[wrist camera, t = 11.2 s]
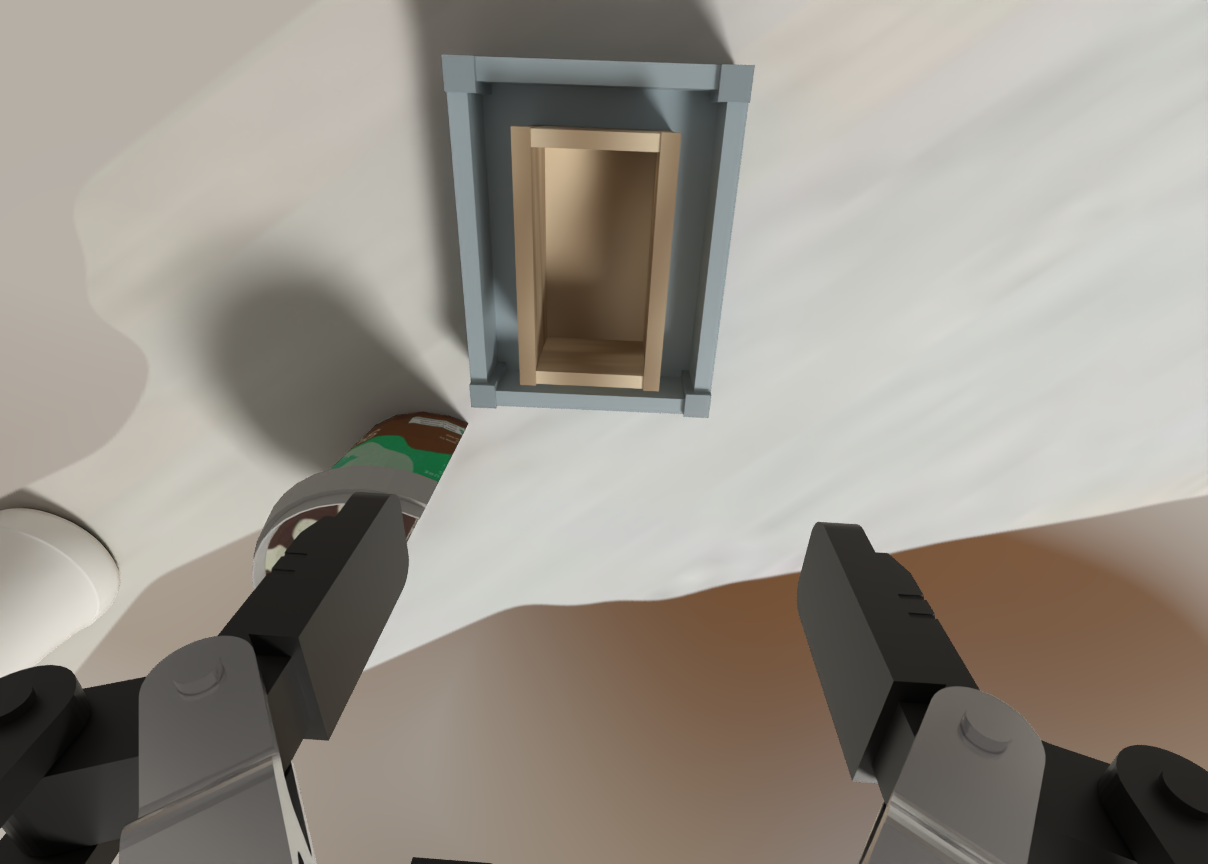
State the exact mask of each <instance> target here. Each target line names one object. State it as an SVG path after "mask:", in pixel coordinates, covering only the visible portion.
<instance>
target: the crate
mask: <svg viewBox="0 0 1208 864" xmlns="http://www.w3.org/2000/svg"><path fill="white" fill-rule="evenodd" d="M441 58H442V70H443V81H444V92H447V103H448V115H449V127H450V139H451V151H452V163H453V175H454V187H455V199H456V211H457V223H458V234H459V246H460V258H461V270H462V282H463V294H464V306H465V318H466V330H467V342H468V354H469V366H470V377H471V383H470V385H469V386H470V397H471V407H477V408H496V407H497V406H516V407H538V408H560V409H583V410H605V411H627V412H649V413H671V414H683V415H684V417H699V418H708V417H709V410H710V402H711V386H712V378H713V371H714V363H715V355H716V348H717V340H718V332H719V325H720V317H721V309H722V302H723V294H724V286H725V279H726V271H727V263H728V256H729V248H730V240H731V233H732V225H733V217H734V210H735V202H736V194H737V187H738V179H739V171H740V164H741V156H742V148H743V141H744V133H745V125H746V118H747V110H748V103H750V98H751V90H752V82H753V75H754V67H755V65H732V64H721V65H715V64H686V63H657V62H628V61H599V60H570V59H541V58H512V57H483V56H471V55H442V54H441ZM528 125H549V126H574V127H598V128H623V129H648V130H671V131H673V132H680V133H681V144H680V155H679V167H678V178H677V190H676V201H675V212H674V224H673V235H672V247H671V258H670V270H669V281H668V292H667V304H666V315H665V327H664V338H663V350H662V361H661V372H660V384H659V391H643V389H637V388H616V387H595V386H574V385H553V384H536V386H532V385H520V370H519V343H518V316H517V288H516V261H515V234H514V207H513V179H512V152H511V126H528Z"/></svg>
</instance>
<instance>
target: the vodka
mask: <svg viewBox="0 0 1208 864" xmlns="http://www.w3.org/2000/svg"><path fill="white" fill-rule="evenodd" d="M119 587H120V575H119V571H118V568H117V566H116V564H115V562H114V560H113V558H112V557H111V555H110V554H109V553H108V551H107V550H106V549H105V547H104V546H103V545H102V544H101V543H100V542H99V541H98V540H97V539H96V538H95V537H94V536H92V535H91V534H90V533H89V532H87V531H86V530H84V529H83V528H81V527H79V526H78V525H76V524H74V523H72V522H70V521H68V520H66V519H63V518H61V517H59V516H56V515H53V514H50V513H47V512H44V511H40V510H35V509H27V508H11V509H5V510H0V678H1V677H4V676H6V675H8V674H11V673H14V672H17V671H20V670H23V669H27V668H31V667H34V666H35V665H36V664H37V663H38V662H40V661H41V660H42V659H43V658H44V657H45V656H47V655H48V654H49V653H50V652H52V651H53V650H54V649H55V648H57V647H58V646H59V645H61V644H62V643H63V642H64V641H66V640H67V639H68V638H70V637H71V636H72V635H73V634H75V633H76V632H78V631H80V630H82V629H85V628H86V627H88V626H89V625H91V624H92V623H93V622H94V621H95V620H97V619H98V618H99V617H100V616H101V615H102V614H103V613H104V612H106V611H107V610H108V609H109V608H110V607H111V606H112V604H113V603H114V601H115V599H116V596H117V594H118V591H119Z"/></svg>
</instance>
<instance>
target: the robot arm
mask: <svg viewBox="0 0 1208 864" xmlns="http://www.w3.org/2000/svg"><path fill="white" fill-rule="evenodd" d="M408 566H409V556H408V549H407V542H406V536H405V529H404V523H403V516H402V510H401V504H400V500H399V498H398V496H397V495H396V494H385V493H369V492H355V493H354V494H352V496H351V497H350V498H349V499H348V501H347V502H346V503H345V505H344V506H343V507H342V509H341V510H340V511H339V513H338V514H337V515H336V517H333V516H324V517H323V518H321V519H320V520H318V521H317V522H315V523H314V524H312V525H311V526H309V527H308V528H306V529H305V530H303V531H302V532H300V534H299V535H298V536H297V537H296V539H295V540H294V541H293V542H292V544H291V545H290V546H289V547H288V549H287V550H286V551H285V555H284V556H281V557H280V559H279V560H278V561H277V562H276V564H275V565H274V566H273V567H272V569H271V573H268V574H267V575H266V576H265V577H264V579H263V580H262V581H261V582H260V584H259V585H258V586H257V587H256V589H255V590H254V591H253V592H252V594H251V595H250V596H249V597H248V599H247V600H246V601H245V602H244V604H243V605H242V606H241V607H240V609H239V610H238V611H237V612H236V613H235V615H234V616H233V617H232V618H231V620H230V621H229V622H228V623H227V625H226V626H225V627H224V629H223V630H222V631H221V633H219V635H218V636H214V637H209V638H205V639H202V640H198V641H195V642H193V643H190V644H188V645H186V646H184V647H182V648H180V649H178V650H176V651H175V652H173V653H172V654H170V655H168V656H167V657H166V658H165V659H163V660H162V661H161V662H159V664H157V665H156V666H155V668H153V669H152V670H151V672H150V673H149V674H148V675H147V677H142V678H137V679H133V680H127V681H121V682H116V683H111V684H106V685H101V686H95V687H90V688H85V689H82V687H81V685H80V683H79V682H78V680H77V678H76V676H75V675H74V674H73V672H72V671H71V670H69V669H67V668H65V667H62V666H55V665H45V666H37V667H31V668H27V669H23V670H20V671H17V672H14V673H11V674H8V675H6V676H4V677H1V678H0V828H1V827H2V828H3V829H4V831H5V832H6V834H5V835H4V836H3V838H2V839H1V840H0V864H111V863H112V862H113V860H114V858H115V857H116V855H117V854H118V852H119V864H317V862H316V857H315V853H314V849H313V844H312V840H311V836H310V832H309V827H308V823H307V819H306V814H305V810H304V806H303V801H302V797H301V793H300V788H299V784H298V780H297V775H296V771H295V767H294V764H293V761H292V759H293V757H294V755H295V753H296V751H297V749H298V748H299V746H300V744H301V742H302V740H303V739H315V740H329V739H330V737H331V735H332V733H333V731H334V729H335V727H336V724H337V722H338V720H339V718H340V716H341V714H342V712H343V710H344V708H345V706H346V704H347V702H348V700H349V698H350V696H351V694H352V692H353V690H354V688H355V686H356V684H357V682H358V680H359V678H360V675H361V674H362V672H363V669H364V667H365V665H366V663H367V661H368V659H369V657H370V655H371V653H372V651H373V649H374V647H375V645H376V643H377V641H378V639H379V637H380V635H381V633H382V631H383V629H384V627H385V625H386V623H387V621H388V619H389V617H390V614H391V612H392V610H393V608H394V606H395V604H396V602H397V600H398V598H399V596H400V594H401V592H402V590H403V588H404V585H405V582H406V579H407V574H408ZM797 605H798V612H799V616H800V619H801V623H802V626H803V629H804V632H805V635H806V638H807V641H808V645H809V648H810V651H811V654H812V657H813V660H814V663H815V666H816V669H817V672H818V676H819V679H820V682H821V685H822V688H823V691H824V694H825V698H826V701H827V704H828V707H829V710H830V713H831V716H832V719H833V722H834V725H835V729H836V732H837V735H838V738H839V741H840V744H841V747H842V750H843V753H844V757H845V760H846V763H847V766H848V769H849V772H850V775H851V778H852V781H856V782H869V783H878V785H879V787H880V790H881V793H882V796H883V798H884V802H883V804H882V806H881V808H880V811H879V813H878V816H877V818H876V820H875V823H874V825H873V828H872V830H871V832H870V835H869V837H868V840H867V842H866V845H865V847H864V849H863V852H862V854H861V857H860V859H859V862H858V864H1208V772H1207V771H1206V770H1205V769H1203V768H1201V767H1200V766H1198V765H1197V764H1195V763H1193V762H1191V761H1190V760H1188V759H1185V758H1183V757H1182V756H1180V755H1177V754H1175V753H1172V752H1170V751H1167V750H1164V749H1161V748H1157V747H1153V746H1147V745H1134V746H1129V747H1127V748H1124V749H1123V750H1122V751H1121V752H1119V754H1118V755H1117V756H1116V758H1115V759H1114V761H1113V762H1112V763H1111V764H1108V763H1105V762H1103V761H1100V760H1096V759H1094V758H1091V757H1088V756H1085V755H1082V754H1078V753H1076V752H1073V751H1069V750H1067V749H1064V748H1061V747H1058V746H1055V745H1052V744H1049V743H1047V742H1044V741H1042V740H1040V738H1039V736H1038V735H1037V733H1036V731H1035V730H1034V729H1033V728H1032V726H1031V725H1030V724H1029V723H1028V722H1027V721H1026V720H1025V718H1024V717H1023V716H1022V715H1020V714H1019V713H1018V712H1017V711H1016V710H1015V709H1013V708H1012V707H1010V706H1009V705H1008V704H1006V703H1005V702H1003V701H1001V700H1000V699H998V698H996V697H994V696H992V695H990V694H988V693H986V692H982V691H980V690H979V688H978V686H977V685H976V683H975V681H974V680H973V678H972V676H971V674H970V673H969V671H968V669H967V668H966V666H965V664H964V663H963V661H962V659H961V658H960V656H959V654H958V653H957V651H956V649H955V647H954V646H953V644H952V642H951V641H950V639H949V637H948V636H947V634H946V632H945V631H944V629H943V627H942V625H941V624H940V622H939V621H938V619H935V614H934V612H933V610H932V609H931V607H930V605H929V604H928V602H927V600H924V595H923V593H922V592H921V590H920V589H919V587H918V585H917V583H916V582H915V580H914V578H913V577H912V575H911V573H910V572H909V571H907V570H906V569H905V568H904V567H903V566H902V565H901V564H899V563H898V562H897V561H896V560H895V559H894V558H893V557H892V556H890V555H889V554H888V553H876V552H875V551H874V549H873V547H872V545H871V543H870V541H869V540H868V538H867V536H866V534H865V532H864V530H863V529H862V527H861V526H860V525H858V524H843V523H827V522H817V523H816V524H815V525H814V527H813V529H812V532H811V536H810V540H809V544H808V548H807V551H806V555H805V559H804V563H803V566H802V570H801V574H800V578H799V582H798V588H797ZM411 864H491V863H481V862H468V861H455V860H441V859H429V858H416V857H413V859H412V862H411Z"/></svg>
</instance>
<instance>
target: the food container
mask: <svg viewBox="0 0 1208 864" xmlns="http://www.w3.org/2000/svg"><path fill="white" fill-rule="evenodd" d="M467 425H468V423H466V422H463V421H461V420H458V419H456V418H453V417H451V416H447V415H440V414H434V413H427V412H416V413H408V414H401V415H396V416H394V417H392V418H390V419H388V420H386V421H384V422H381V423H379V424H377V425H376V426H375V427H374V428H373V429H372V430H371V431H370V432H369V433H368V434H366V435H365V436H364V437H363V438H362V439H361V440H360V441H359V442H358V443H357V444H356V445H355V446H354V447H353V448H352V449H351V450H350V451H349V452H348V453H347V454H346V455H345V456H344V457H343V458H342V459H341V460H340V461H339V462H337V463H336V464H335V465H334V466H333V467H332V468H331V469H330V470H327V471H324V472H321V473H318V474H315V475H312V476H310V477H308V478H306V479H305V480H303V481H301V482H299V483H297V484H296V485H294V486H293V487H292V488H291V489H289V490H288V491H287V492H286V493H284V494H283V496H282V497H281V498H280V499H279V501H278V502H277V503H276V504H275V506H274V507H273V509H272V511H271V513H270V515H269V517H268V519H267V521H266V523H265V526H264V528H263V530H262V532H261V534H260V536H259V538H258V541H257V544H256V548H255V553H254V562H253V567H252V583H253V587H254V590H255V589H256V587H257V586H258V585H259V584H260V582H261V581H262V580H263V579H264V577H265V576H266V575H267V574H268V573H271V569H272V567H273V566H274V565H275V564H276V562H277V561H278V560H279V559H280V557H281V556H284V555H285V551H286V550H287V549H288V547H289V546H290V545H291V544H292V542H293V541H294V540H295V539H296V537H297V536H298V535H299V534H300V532H302V531H303V530H305V529H306V528H308V527H309V526H311V525H312V524H314V523H315V522H317V521H318V520H320V519H321V518H323V517H324V516H333V517H336V515H337V514H338V513H339V511H340V510H341V509H342V507H343V506H344V505H345V503H346V502H347V501H348V499H349V498H350V497H351V496H352V494H354V493H355V492H369V493H385V494H396V495H397V496H398V498H399V500H400V504H401V510H402V516H403V523H404V529H405V536H406V542H407V541H408V539H409V537H410V535H411V533H412V531H413V530H414V528H415V526H416V524H417V522H418V520H419V519H420V517H421V515H422V513H423V511H424V509H425V507H426V506H427V504H428V502H429V500H430V498H431V496H432V494H433V492H434V490H435V488H436V486H437V484H438V482H439V480H440V478H441V476H442V474H443V472H444V470H445V468H446V466H447V464H448V463H449V461H450V459H451V457H452V455H453V453H454V451H455V449H456V447H457V445H458V443H459V441H460V439H461V437H462V435H463V433H464V431H465V429H466V427H467Z"/></svg>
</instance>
